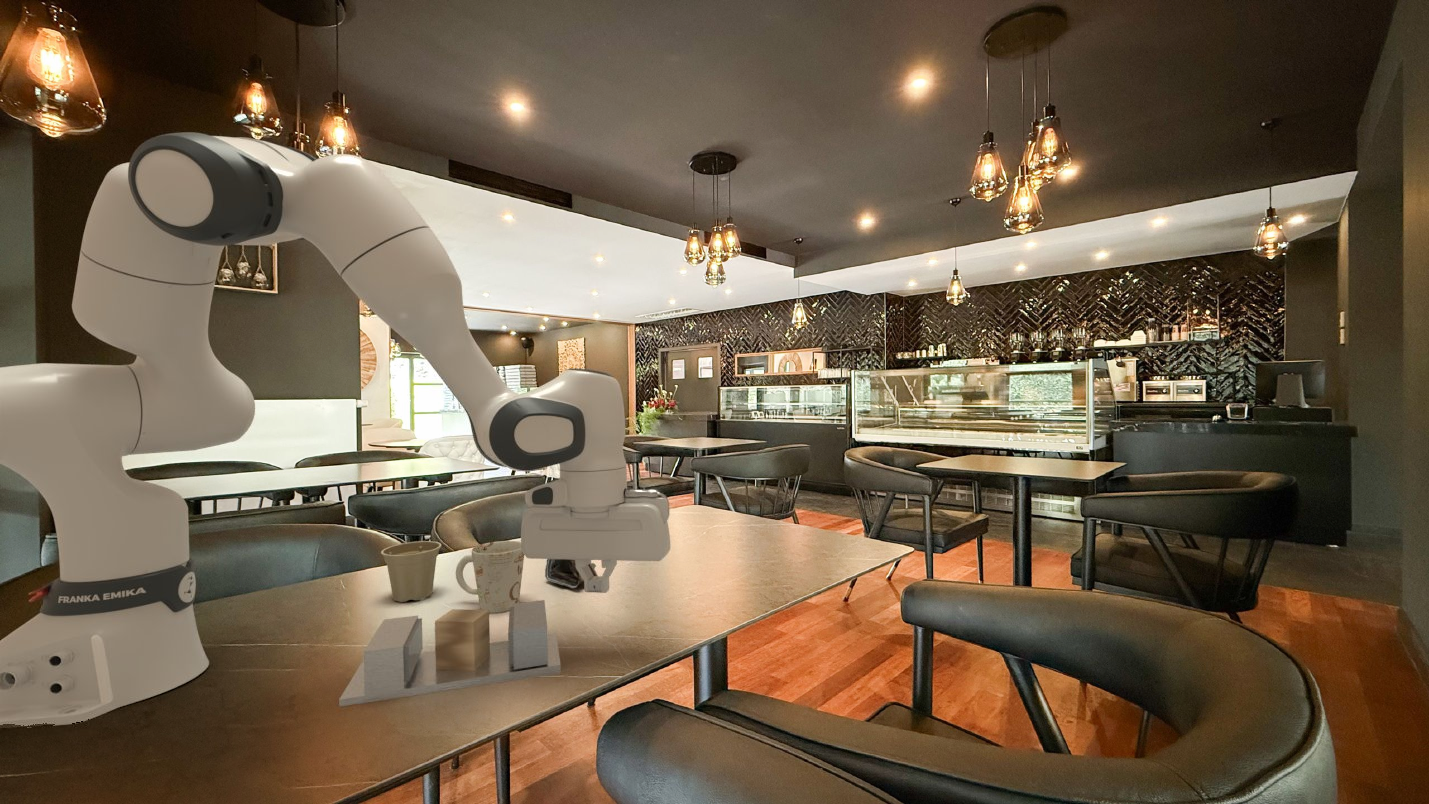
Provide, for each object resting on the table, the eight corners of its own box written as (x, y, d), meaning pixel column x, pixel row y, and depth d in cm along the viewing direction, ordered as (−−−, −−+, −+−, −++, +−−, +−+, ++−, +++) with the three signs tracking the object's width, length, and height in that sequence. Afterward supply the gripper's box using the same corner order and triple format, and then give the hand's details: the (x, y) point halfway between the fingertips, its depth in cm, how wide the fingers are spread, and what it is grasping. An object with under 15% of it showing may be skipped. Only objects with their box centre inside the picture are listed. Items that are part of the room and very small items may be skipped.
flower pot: (425, 605, 97) (424, 554, 97) (370, 606, 97) (369, 555, 97) (451, 587, 106) (450, 540, 106) (401, 587, 106) (400, 541, 106)
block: (435, 669, 71) (434, 621, 71) (453, 654, 75) (452, 609, 75) (474, 670, 71) (473, 621, 71) (490, 655, 75) (489, 609, 75)
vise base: (339, 710, 64) (338, 655, 64) (363, 670, 74) (361, 622, 74) (560, 674, 72) (559, 624, 72) (556, 642, 81) (555, 598, 81)
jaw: (508, 670, 70) (508, 631, 70) (510, 638, 79) (509, 604, 79) (548, 664, 71) (547, 626, 71) (545, 633, 81) (544, 599, 81)
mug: (508, 617, 91) (507, 554, 91) (438, 612, 93) (437, 551, 93) (535, 599, 99) (534, 541, 99) (470, 595, 101) (469, 539, 101)
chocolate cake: (613, 581, 106) (595, 530, 114) (580, 580, 101) (564, 526, 109) (586, 612, 109) (571, 559, 117) (553, 612, 104) (540, 557, 112)
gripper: (674, 485, 79) (677, 586, 79) (536, 485, 82) (539, 581, 82) (662, 493, 73) (665, 602, 73) (513, 493, 76) (516, 597, 76)
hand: (597, 591), depth 77 cm, fingers closed
